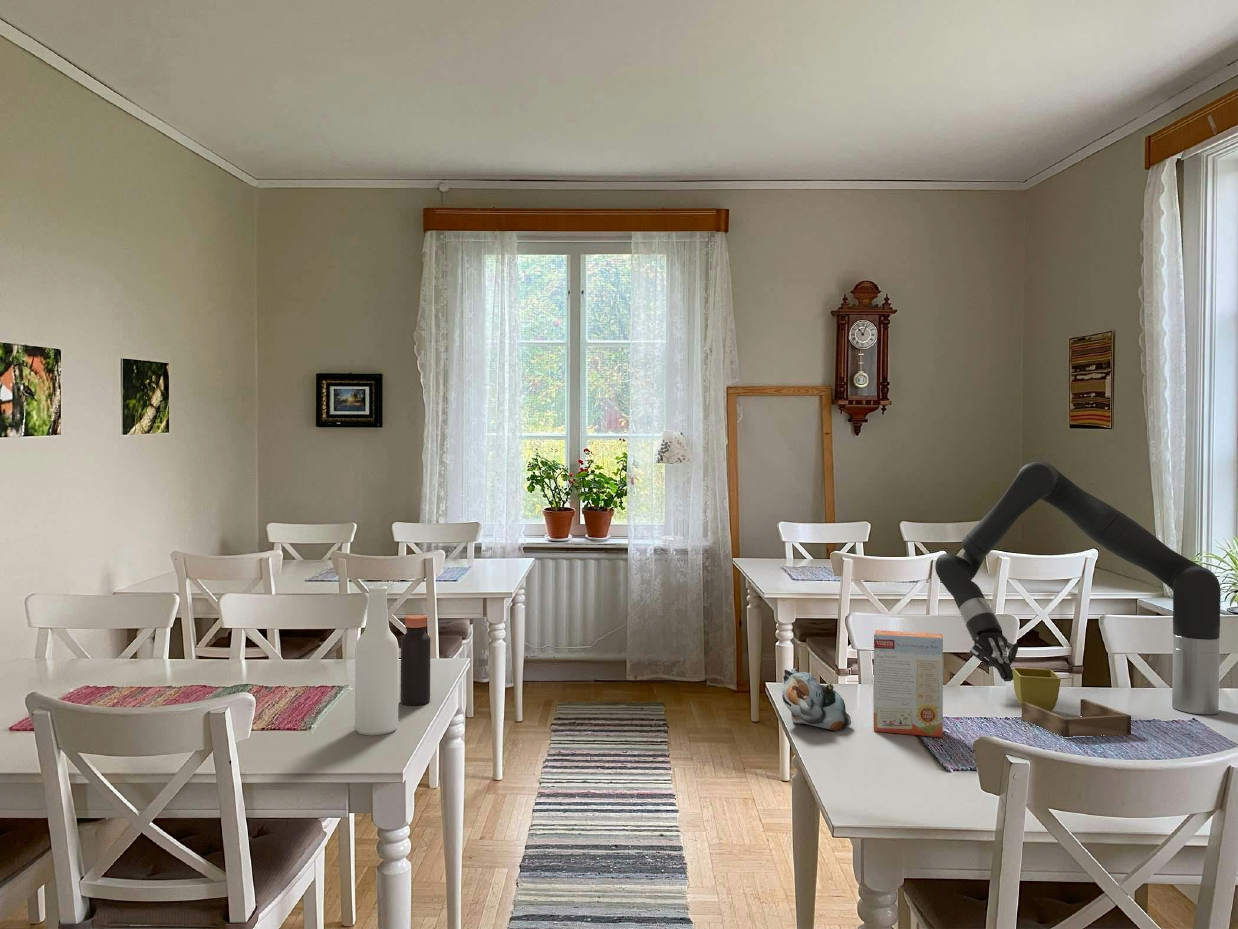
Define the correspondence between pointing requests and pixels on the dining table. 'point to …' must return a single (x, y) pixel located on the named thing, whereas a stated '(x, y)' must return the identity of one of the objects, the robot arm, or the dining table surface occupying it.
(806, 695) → the lucky cat figurine
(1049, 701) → the flower pot
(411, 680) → the bottle
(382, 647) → the alcohol
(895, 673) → the cracker box
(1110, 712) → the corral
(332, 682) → the dining table surface
